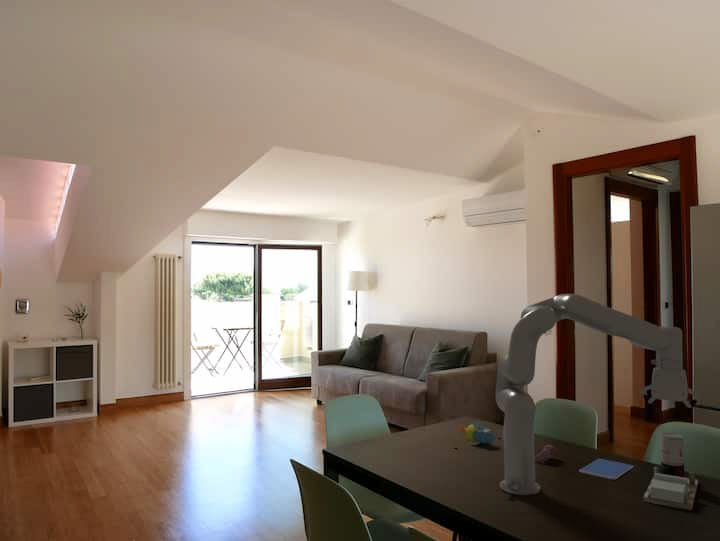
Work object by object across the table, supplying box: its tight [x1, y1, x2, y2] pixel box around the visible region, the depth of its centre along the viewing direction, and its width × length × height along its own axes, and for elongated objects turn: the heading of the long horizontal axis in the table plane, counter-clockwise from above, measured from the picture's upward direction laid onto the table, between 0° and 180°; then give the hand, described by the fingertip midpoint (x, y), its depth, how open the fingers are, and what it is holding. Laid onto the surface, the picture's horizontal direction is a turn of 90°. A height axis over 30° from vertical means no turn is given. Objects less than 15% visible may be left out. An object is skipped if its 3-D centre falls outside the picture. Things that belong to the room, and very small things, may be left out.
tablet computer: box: [578, 458, 634, 481], centre depth 193 cm, size 19×13×1 cm, turn 136°
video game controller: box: [534, 444, 557, 463], centre depth 204 cm, size 10×5×7 cm, turn 143°
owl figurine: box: [459, 422, 497, 445], centre depth 228 cm, size 28×9×15 cm
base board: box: [642, 466, 699, 511], centre depth 170 cm, size 27×12×5 cm, turn 145°
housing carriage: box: [651, 473, 687, 504], centre depth 164 cm, size 10×8×5 cm
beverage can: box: [659, 432, 686, 478], centre depth 176 cm, size 7×6×15 cm
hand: (669, 417), depth 176 cm, fingers open, 9 cm apart
